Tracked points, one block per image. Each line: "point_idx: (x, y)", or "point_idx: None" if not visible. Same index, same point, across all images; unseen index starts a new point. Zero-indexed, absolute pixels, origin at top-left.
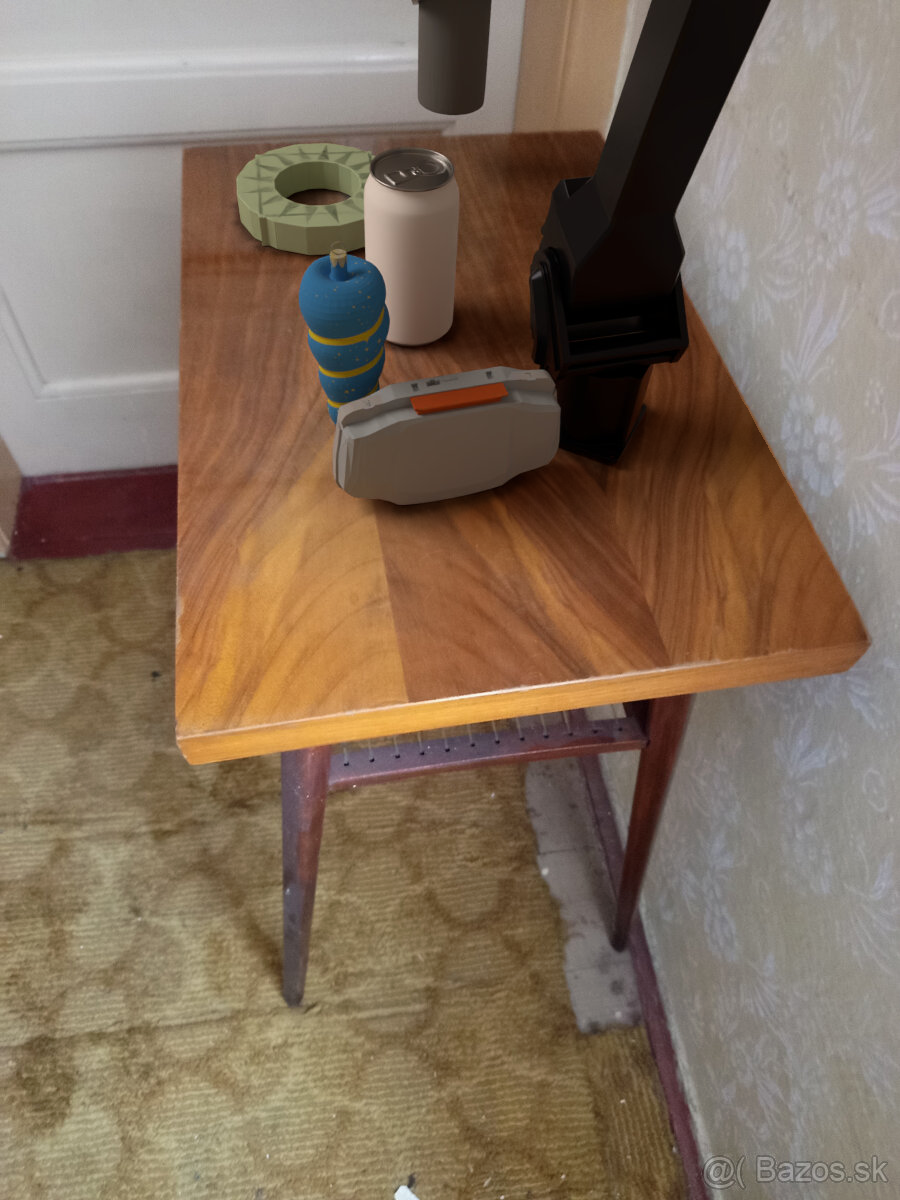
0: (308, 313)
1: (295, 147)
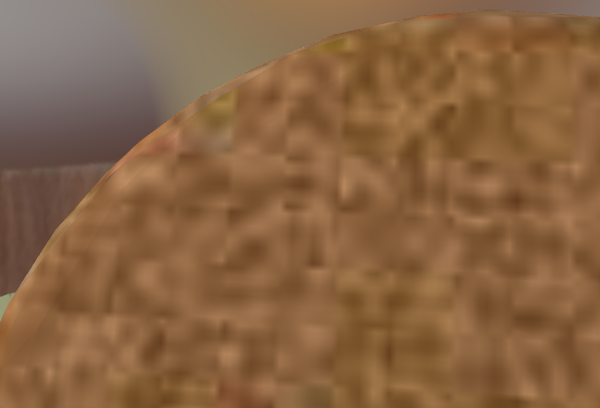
0: None
1: (4, 309)
